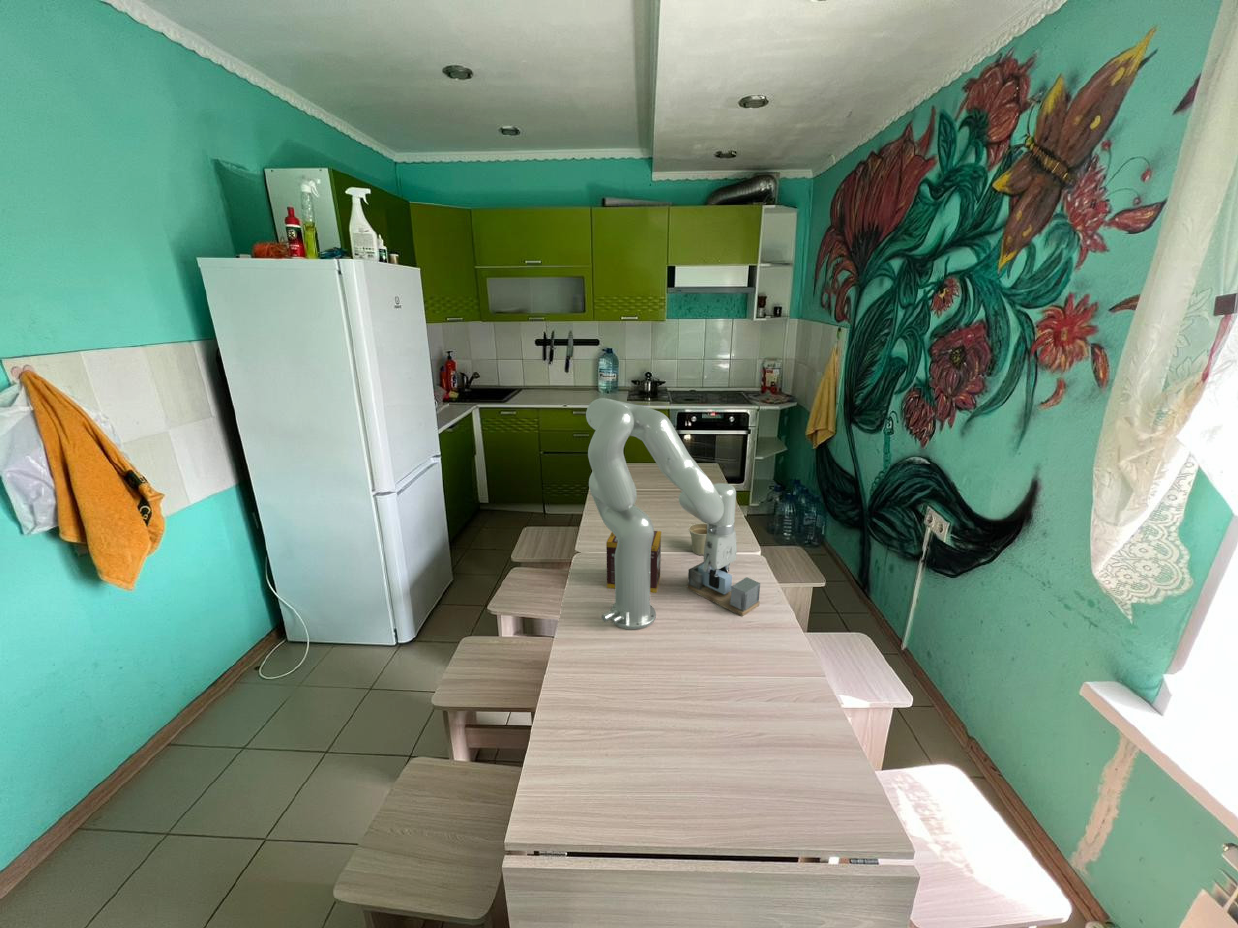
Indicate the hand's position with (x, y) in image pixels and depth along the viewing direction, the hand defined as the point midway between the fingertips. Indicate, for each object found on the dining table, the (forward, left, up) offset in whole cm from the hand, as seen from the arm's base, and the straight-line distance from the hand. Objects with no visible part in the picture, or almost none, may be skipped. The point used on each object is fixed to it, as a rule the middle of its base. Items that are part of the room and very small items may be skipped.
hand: (718, 583), depth 152 cm
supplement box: (-13, +22, -4) cm, 26 cm away
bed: (0, -2, -3) cm, 4 cm away
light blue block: (0, +1, -1) cm, 2 cm away
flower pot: (+18, +21, -4) cm, 28 cm away
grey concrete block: (0, -10, -2) cm, 10 cm away
